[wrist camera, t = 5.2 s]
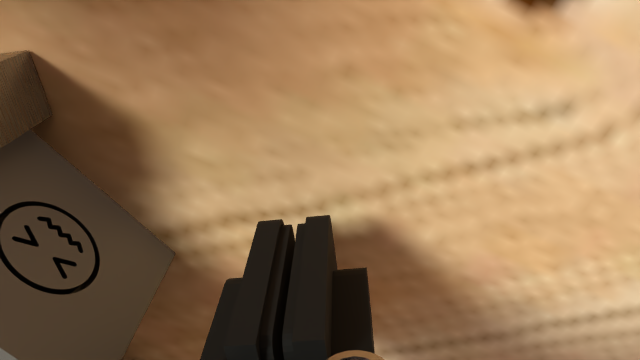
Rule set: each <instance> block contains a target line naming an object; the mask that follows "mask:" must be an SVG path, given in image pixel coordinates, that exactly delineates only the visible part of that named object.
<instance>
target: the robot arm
mask: <svg viewBox="0 0 640 360" xmlns="http://www.w3.org/2000/svg"><path fill="white" fill-rule="evenodd" d="M200 360H384V359H383V358H382V357H380V356H378V355H376V354H375V353H374V341H373V329H372V317H371V307H370V297H369V287H368V277H367V268H356V269H344V270H337V263H336V255H335V248H334V240H333V233H332V225H331V219H330V215H325V216H314V217H306V223H304V224H298V226H297V233H296V240H295V238H294V233H293V228H292V225H284V223H283V220H282V219H281V220H270V221H259V222H258V224H257V228H256V231H255V235H254V239H253V242H252V246H251V249H250V253H249V257H248V260H247V264H246V267H245V271H244V275H243V278H232V279H228V280H226V283H225V285H224V288H223V291H222V294H221V297H220V300H219V303H218V306H217V309H216V312H215V316H214V319H213V322H212V325H211V328H210V331H209V334H208V337H207V340H206V343H205V346H204V349H203V353H202V356H201V359H200Z"/></svg>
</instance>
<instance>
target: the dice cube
mask: <svg viewBox="0 0 640 360" xmlns="http://www.w3.org/2000/svg"><path fill="white" fill-rule="evenodd" d="M174 255H175V252H173V251H172V250H171V249H170V248H169V247H168V246H166V245H165V244H164V243H163V242H162V241H161V240H159V239H158V238H157V237H156V236H155V235H154V234H152V233H151V232H150V231H149V230H148V229H146V228H145V227H144V226H143V225H142V224H141V223H139V222H138V221H137V220H136V219H135V218H134V217H132V216H131V215H130V214H129V213H128V212H127V211H125V210H124V209H123V208H122V207H121V206H120V205H118V204H117V203H116V202H115V201H114V200H113V199H111V198H110V197H109V196H108V195H107V194H105V193H104V192H103V191H102V190H101V189H100V188H98V187H97V186H96V185H95V184H94V183H93V182H91V181H90V180H89V179H88V178H87V177H86V176H84V175H83V174H82V173H81V172H80V171H79V170H77V169H76V168H75V167H74V166H73V165H72V164H70V163H69V162H68V161H67V160H66V159H64V158H63V157H62V156H61V155H60V154H59V153H57V152H56V151H55V150H54V149H53V148H52V147H50V146H49V145H48V144H47V143H46V142H45V141H43V140H42V139H41V138H40V137H39V136H38V135H36V134H35V133H34V132H33V131H32V130H31V129H30V130H28V131H27V132H25V133H24V134H22V135H21V136H19V137H17V138H16V139H14V140H13V141H11V142H10V143H8V144H7V145H5V146H4V147H2V148H0V360H122V358H123V356H124V354H125V352H126V350H127V348H128V346H129V344H130V342H131V340H132V338H133V336H134V334H135V332H136V330H137V328H138V326H139V324H140V322H141V320H142V318H143V316H144V314H145V312H146V310H147V309H148V307H149V305H150V303H151V301H152V299H153V297H154V295H155V293H156V291H157V289H158V287H159V285H160V283H161V281H162V279H163V277H164V275H165V273H166V271H167V269H168V267H169V265H170V263H171V261H172V259H173V257H174Z"/></svg>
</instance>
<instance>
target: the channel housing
mask: <svg viewBox="0 0 640 360" xmlns="http://www.w3.org/2000/svg"><path fill="white" fill-rule="evenodd" d="M51 115H52V112H51V110H50V107H49V104H48V101H47V99H46V96H45V93H44V91H43V88H42V85H41V83H40V80H39V77H38V75H37V72H36V69H35V67H34V64H33V61H32V59H31V56H30V53H29V51H21V52H13V53H4V54H0V148H2V147H4V146H5V145H7V144H8V143H10V142H11V141H13V140H14V139H16V138H17V137H19V136H21V135H22V134H24V133H25V132H27V131H28V130H30V129H31V128H33V127H34V126H36V125H37V124H39V123H41V122H42V121H44V120H45V119H47V118H48V117H50V116H51Z"/></svg>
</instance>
